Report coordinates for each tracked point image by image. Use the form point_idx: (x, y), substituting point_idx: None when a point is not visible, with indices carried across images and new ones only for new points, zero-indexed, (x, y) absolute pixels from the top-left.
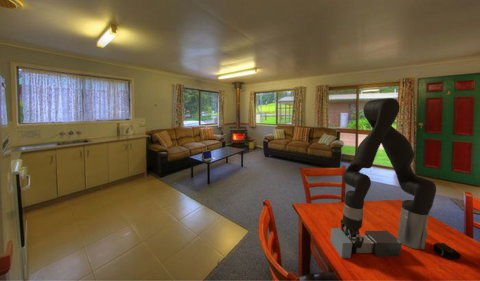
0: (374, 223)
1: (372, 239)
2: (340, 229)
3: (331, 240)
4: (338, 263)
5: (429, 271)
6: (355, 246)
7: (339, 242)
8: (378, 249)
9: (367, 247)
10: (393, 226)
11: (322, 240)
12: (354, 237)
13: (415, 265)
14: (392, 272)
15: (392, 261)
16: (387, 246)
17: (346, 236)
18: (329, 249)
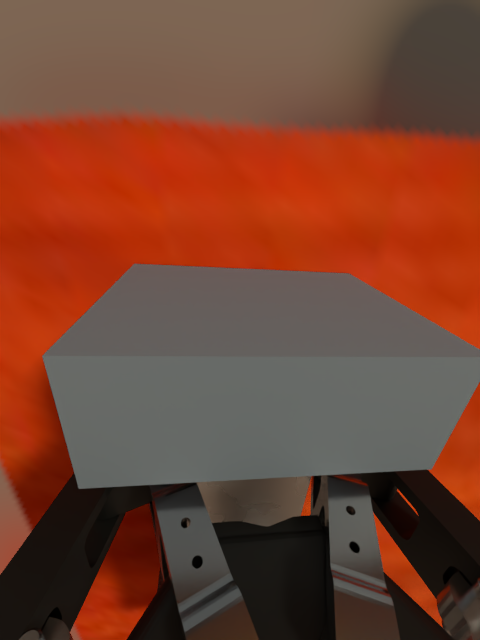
0: (406, 575)
1: None
2: (403, 463)
3: (345, 280)
4: (51, 188)
5: (93, 608)
6: (75, 478)
7: (182, 319)
8: None
9: None
10: None
11: (385, 191)
12: (270, 506)
13: (122, 589)
14: (48, 505)
15: (137, 535)
16: None
17: (238, 475)
18: (250, 199)
